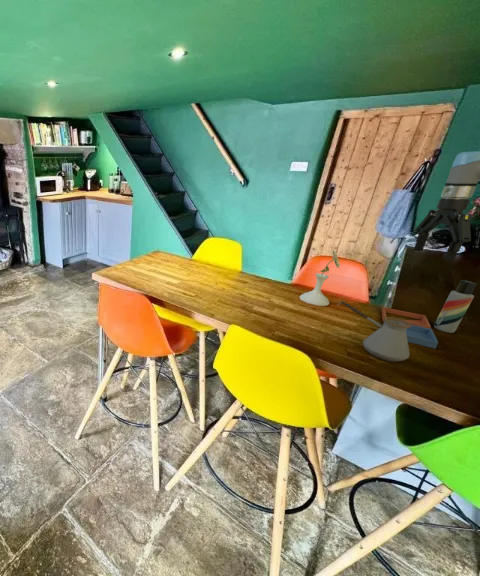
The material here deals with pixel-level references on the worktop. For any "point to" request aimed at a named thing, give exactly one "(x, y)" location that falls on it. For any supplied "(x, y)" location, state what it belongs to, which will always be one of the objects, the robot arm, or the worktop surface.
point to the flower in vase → (319, 287)
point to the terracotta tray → (422, 322)
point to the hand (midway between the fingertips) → (432, 255)
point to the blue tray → (421, 336)
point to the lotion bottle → (455, 307)
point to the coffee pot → (387, 338)
